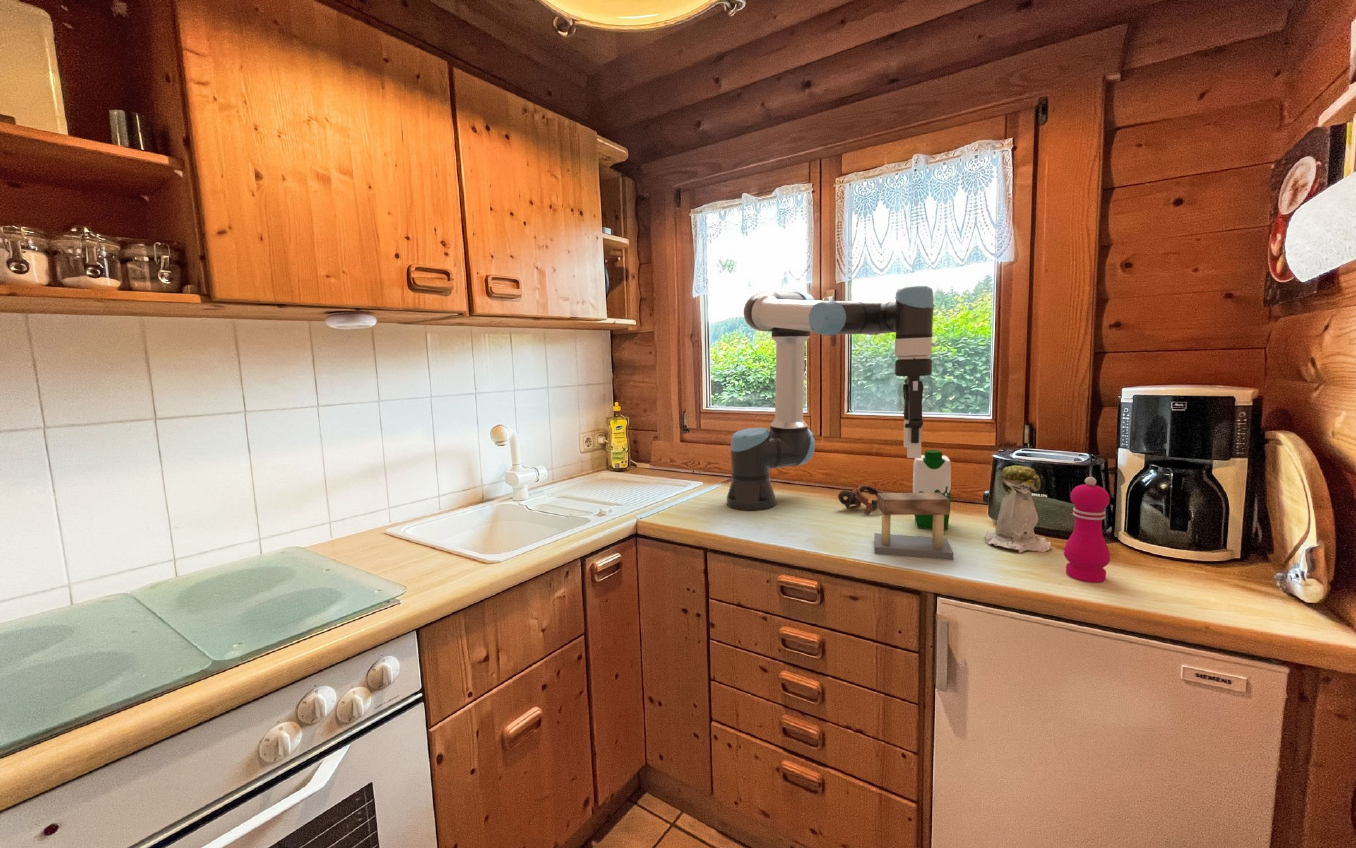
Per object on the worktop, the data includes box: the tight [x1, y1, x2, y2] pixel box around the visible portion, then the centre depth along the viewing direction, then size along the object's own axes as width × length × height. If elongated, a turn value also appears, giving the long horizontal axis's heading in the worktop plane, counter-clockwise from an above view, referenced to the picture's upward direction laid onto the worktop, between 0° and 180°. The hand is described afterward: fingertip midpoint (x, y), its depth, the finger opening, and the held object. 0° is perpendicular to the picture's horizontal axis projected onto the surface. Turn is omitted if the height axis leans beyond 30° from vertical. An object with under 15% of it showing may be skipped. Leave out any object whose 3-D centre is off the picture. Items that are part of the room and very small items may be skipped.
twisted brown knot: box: [837, 484, 880, 515], centre depth 154 cm, size 12×10×8 cm
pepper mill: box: [1063, 476, 1111, 583], centre depth 103 cm, size 7×7×20 cm
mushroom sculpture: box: [984, 464, 1051, 554], centre depth 122 cm, size 12×13×18 cm
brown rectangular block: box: [876, 492, 951, 516], centre depth 121 cm, size 14×6×4 cm, turn 83°
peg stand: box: [873, 512, 954, 561], centre depth 122 cm, size 16×10×9 cm, turn 70°
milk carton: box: [912, 449, 952, 531], centre depth 138 cm, size 9×9×20 cm
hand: (911, 452), depth 120 cm, fingers open, 13 cm apart
